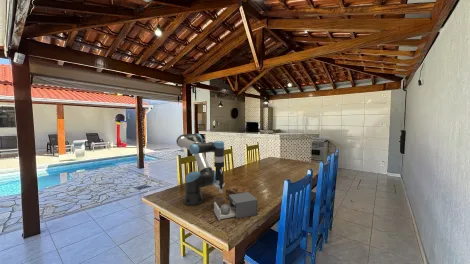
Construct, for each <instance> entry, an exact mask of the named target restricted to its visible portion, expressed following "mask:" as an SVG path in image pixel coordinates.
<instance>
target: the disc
mask: <svg viewBox="0 0 470 264" xmlns="http://www.w3.org/2000/svg"><path fill="white" fill-rule="evenodd" d="M218 184H219V182H216V183H214V184H213V187H214V188H215V189H216V188H219V185H218ZM225 184H226V183H225V182H224V185H223V188H224V187H225Z"/></svg>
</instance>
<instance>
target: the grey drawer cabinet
mask: <svg viewBox="0 0 470 264" xmlns="http://www.w3.org/2000/svg"><path fill="white" fill-rule="evenodd" d="M228 199H229V206H230V207H232V206H235V208H236V216H235V218H236V219H242V218H246V217H250V216H251V217H252V216H256V215H258V199H257V198H256V197H255V196H254V195H253V194H252V193H251V192H250V193H249V192H245V193H238V194H232V195H229V198H228Z"/></svg>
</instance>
